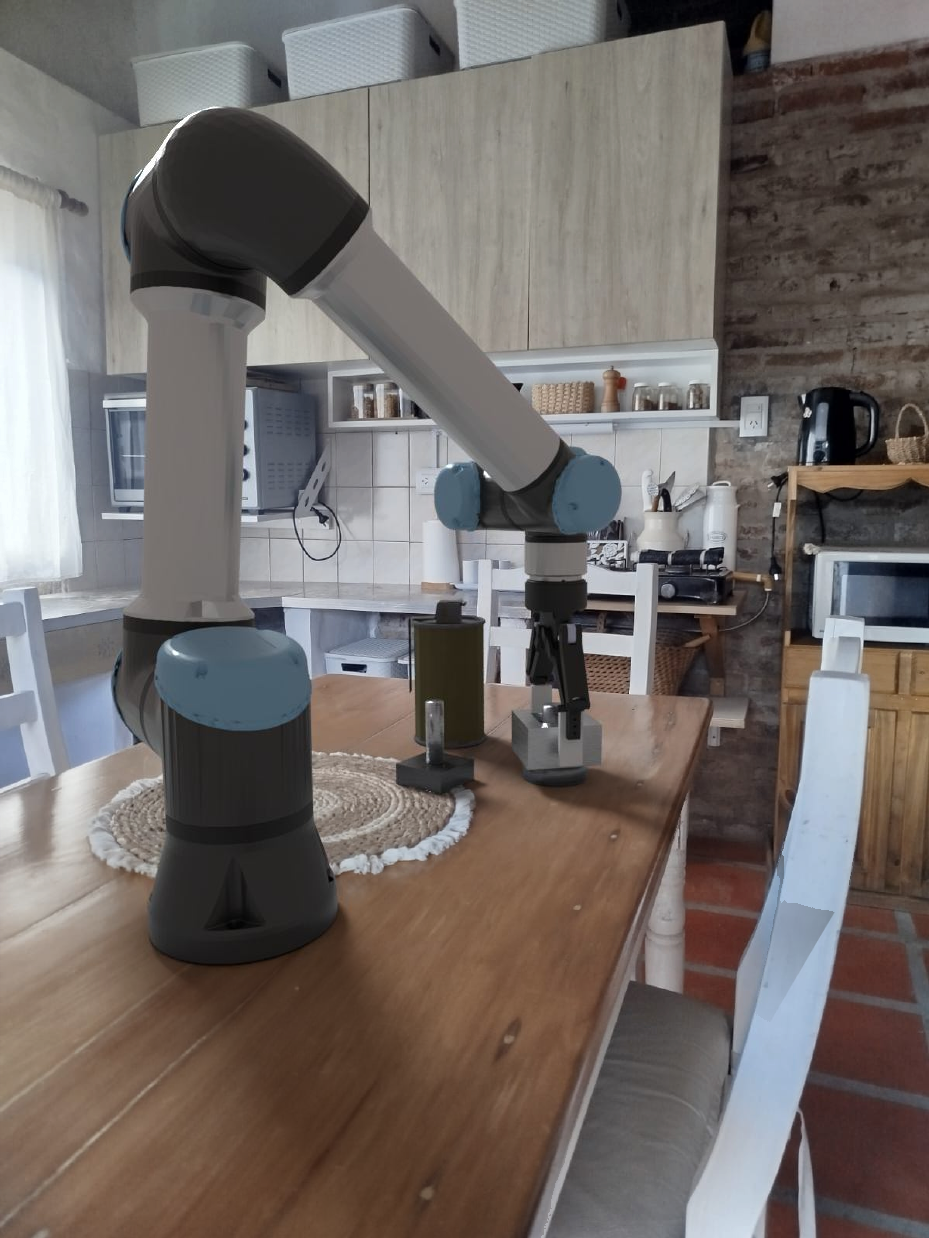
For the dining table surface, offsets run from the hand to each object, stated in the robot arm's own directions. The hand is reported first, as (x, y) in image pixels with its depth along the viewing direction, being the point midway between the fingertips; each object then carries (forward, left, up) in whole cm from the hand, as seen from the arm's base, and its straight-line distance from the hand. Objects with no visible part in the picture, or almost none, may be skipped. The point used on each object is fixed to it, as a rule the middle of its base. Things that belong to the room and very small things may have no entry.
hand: (554, 748), depth 105 cm
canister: (+6, +21, -4) cm, 22 cm away
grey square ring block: (0, 0, -1) cm, 1 cm away
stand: (-10, +11, -4) cm, 15 cm away
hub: (0, 0, -4) cm, 4 cm away
